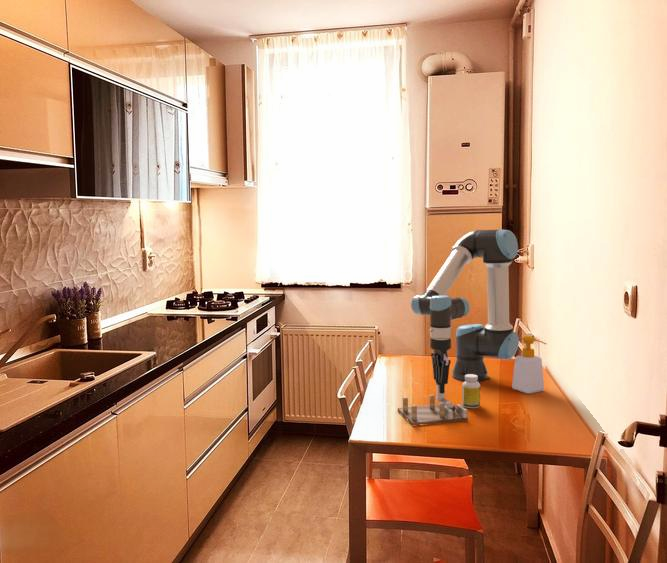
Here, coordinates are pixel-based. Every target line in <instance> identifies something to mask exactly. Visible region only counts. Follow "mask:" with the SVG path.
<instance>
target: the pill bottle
mask: <svg viewBox="0 0 667 563" xmlns="http://www.w3.org/2000/svg"><path fill="white" fill-rule="evenodd" d="M465 380H466V381H463V382H462V384H461V385H462V390H461V391H462V392H461V393H462V400H461V401H462V403H461V405H462V406H463V407H464V408H465V409H478V408H480V406H481V384H480V383H479V382H480V381H477V380H478V376H477V375H474V374H467V375H465Z"/></svg>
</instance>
